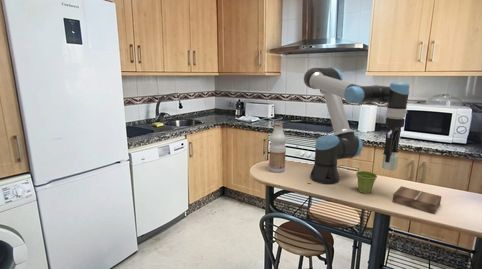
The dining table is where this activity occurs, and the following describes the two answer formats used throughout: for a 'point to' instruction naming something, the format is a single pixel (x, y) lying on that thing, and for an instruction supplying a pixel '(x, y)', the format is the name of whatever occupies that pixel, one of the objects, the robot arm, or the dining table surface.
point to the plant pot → (365, 181)
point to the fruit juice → (277, 149)
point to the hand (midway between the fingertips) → (388, 166)
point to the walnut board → (417, 199)
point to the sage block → (392, 162)
